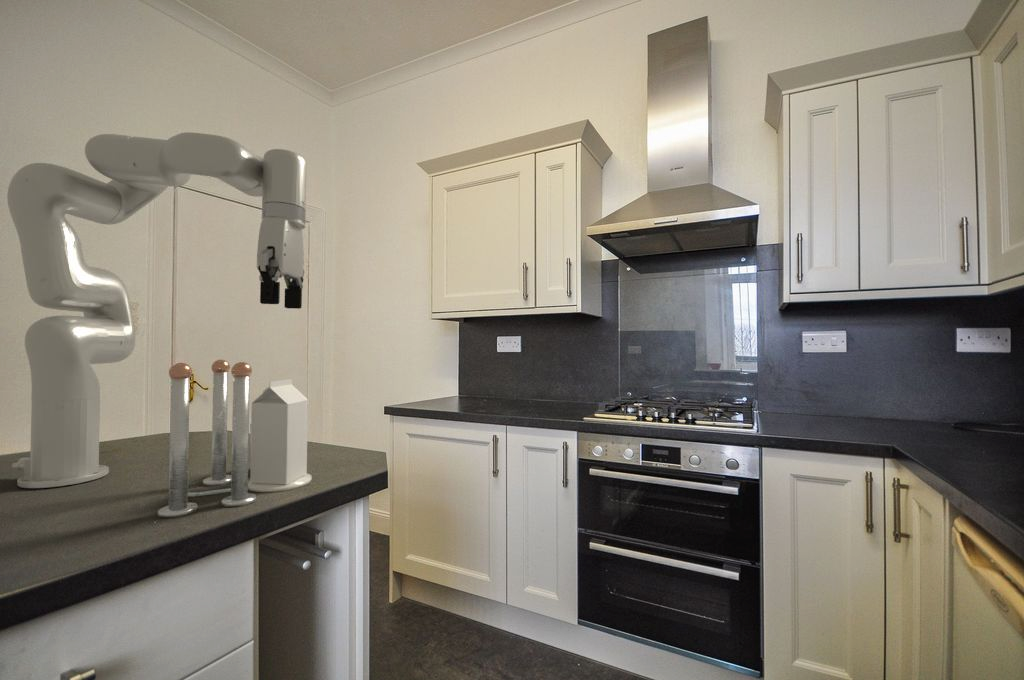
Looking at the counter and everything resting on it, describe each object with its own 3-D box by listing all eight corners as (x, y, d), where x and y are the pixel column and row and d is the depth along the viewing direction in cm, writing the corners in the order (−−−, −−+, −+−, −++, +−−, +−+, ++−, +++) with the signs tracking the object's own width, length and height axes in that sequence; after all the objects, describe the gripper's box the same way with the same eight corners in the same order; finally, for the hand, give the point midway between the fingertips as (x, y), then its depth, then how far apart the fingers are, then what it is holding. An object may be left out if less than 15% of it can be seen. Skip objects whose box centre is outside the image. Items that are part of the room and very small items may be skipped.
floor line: (168, 499, 78) (168, 497, 78) (173, 494, 80) (173, 492, 80) (244, 491, 82) (244, 489, 82) (246, 487, 84) (246, 485, 84)
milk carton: (307, 474, 91) (308, 379, 91) (286, 485, 84) (288, 382, 84) (273, 473, 91) (274, 378, 92) (249, 484, 84) (251, 381, 84)
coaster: (234, 492, 81) (234, 488, 81) (264, 474, 92) (264, 471, 92) (297, 492, 82) (297, 488, 82) (320, 474, 93) (320, 471, 93)
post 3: (215, 507, 74) (217, 362, 74) (232, 496, 79) (234, 361, 79) (246, 506, 74) (249, 362, 74) (261, 496, 79) (264, 361, 80)
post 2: (197, 485, 85) (199, 359, 85) (213, 477, 90) (215, 359, 90) (224, 485, 85) (226, 360, 86) (239, 477, 90) (241, 359, 90)
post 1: (149, 518, 69) (152, 363, 69) (172, 506, 74) (175, 362, 74) (183, 517, 69) (186, 363, 70) (204, 506, 74) (206, 362, 75)
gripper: (284, 228, 96) (282, 309, 96) (239, 203, 79) (237, 301, 79) (320, 229, 97) (318, 310, 96) (283, 204, 79) (281, 302, 79)
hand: (282, 306), depth 88 cm, fingers open, 9 cm apart
